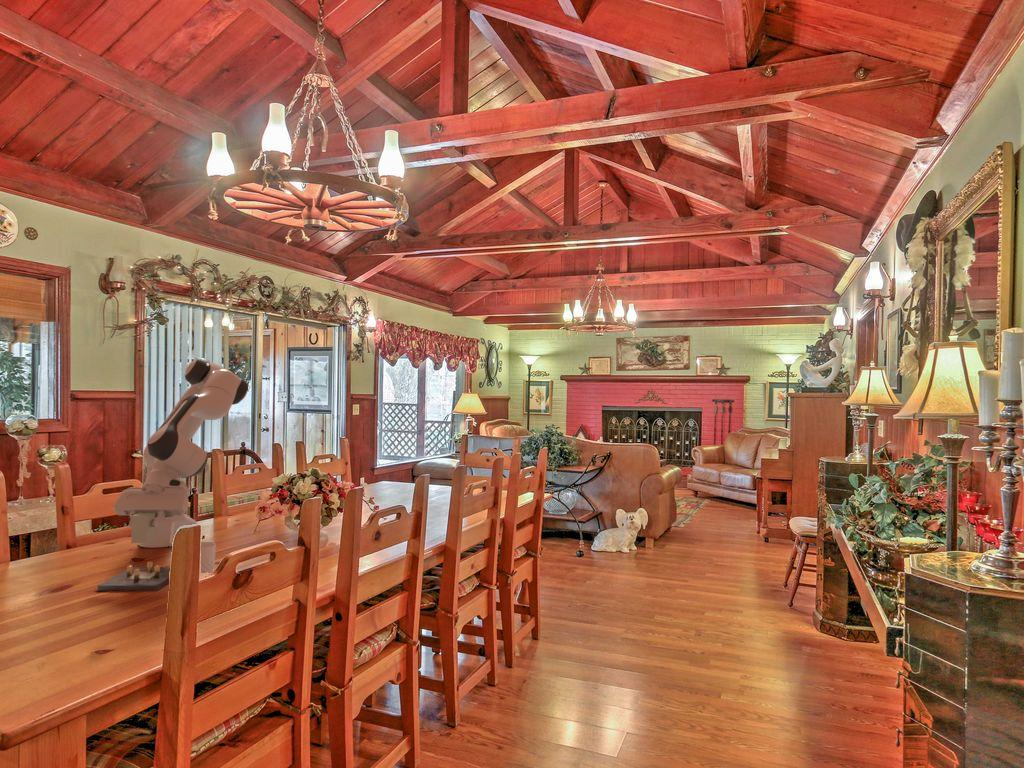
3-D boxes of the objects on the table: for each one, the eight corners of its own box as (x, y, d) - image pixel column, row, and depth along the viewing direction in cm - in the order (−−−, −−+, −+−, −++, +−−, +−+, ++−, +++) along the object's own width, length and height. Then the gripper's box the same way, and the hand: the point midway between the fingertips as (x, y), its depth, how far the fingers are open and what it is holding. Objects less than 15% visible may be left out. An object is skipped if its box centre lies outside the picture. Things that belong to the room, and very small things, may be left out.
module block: (139, 539, 189) (139, 512, 189) (154, 539, 189) (155, 512, 189) (131, 542, 184) (131, 515, 184) (147, 542, 185) (147, 515, 185)
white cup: (220, 574, 195) (221, 542, 195) (205, 582, 187) (206, 548, 187) (196, 573, 196) (197, 541, 196) (180, 580, 188) (181, 547, 188)
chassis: (130, 571, 195) (131, 557, 195) (184, 571, 197) (184, 557, 197) (97, 590, 177) (98, 574, 177) (156, 590, 179) (157, 574, 179)
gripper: (120, 481, 193) (101, 520, 183) (189, 481, 195) (174, 520, 185) (127, 493, 197) (109, 531, 188) (195, 493, 199) (180, 531, 189)
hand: (142, 526), depth 186 cm, fingers closed on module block, 4 cm apart
